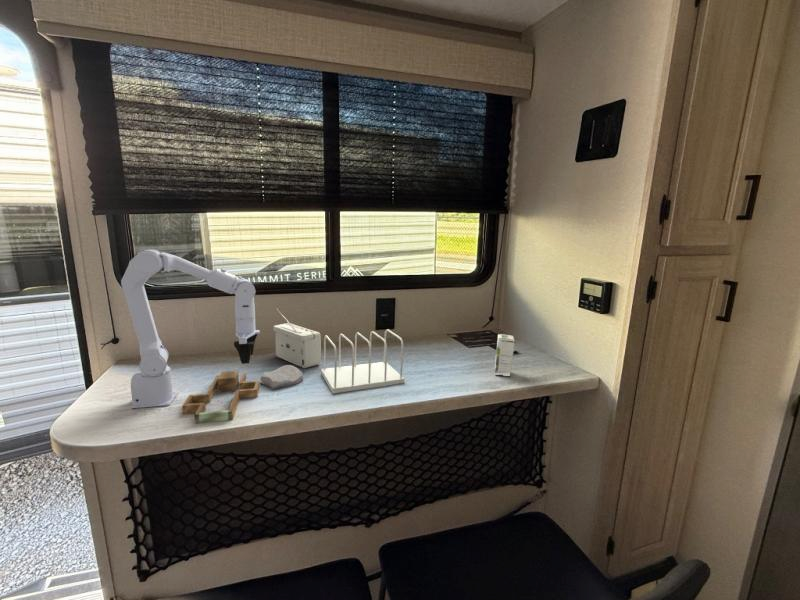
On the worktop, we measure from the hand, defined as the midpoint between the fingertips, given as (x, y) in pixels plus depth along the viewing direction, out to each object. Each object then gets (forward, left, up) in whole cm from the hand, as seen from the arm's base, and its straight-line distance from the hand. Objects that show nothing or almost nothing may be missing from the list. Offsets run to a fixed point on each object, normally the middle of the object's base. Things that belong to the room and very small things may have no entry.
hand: (247, 358), depth 117 cm
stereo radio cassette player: (+15, +21, -10) cm, 28 cm away
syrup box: (+89, -7, -10) cm, 90 cm away
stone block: (+11, +2, -10) cm, 15 cm away
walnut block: (-6, 0, -10) cm, 11 cm away
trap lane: (-6, -8, -9) cm, 13 cm away
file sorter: (+37, -1, -10) cm, 38 cm away
